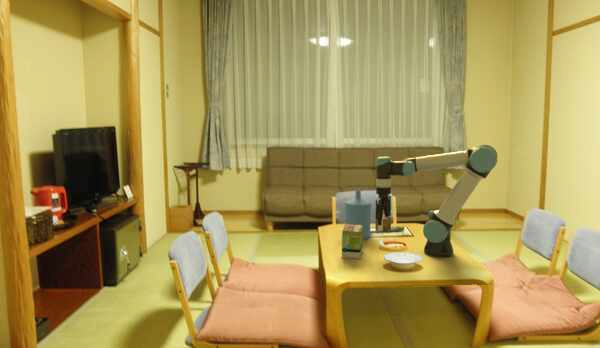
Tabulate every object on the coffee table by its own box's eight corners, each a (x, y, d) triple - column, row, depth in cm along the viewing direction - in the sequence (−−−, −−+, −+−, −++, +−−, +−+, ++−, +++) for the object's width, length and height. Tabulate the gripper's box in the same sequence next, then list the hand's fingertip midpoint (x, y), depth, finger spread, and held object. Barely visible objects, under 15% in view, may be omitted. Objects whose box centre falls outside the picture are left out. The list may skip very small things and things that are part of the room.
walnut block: (391, 229, 259) (391, 216, 257) (385, 232, 254) (386, 219, 253) (380, 228, 262) (380, 215, 261) (375, 230, 257) (375, 217, 256)
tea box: (360, 259, 252) (361, 231, 250) (341, 258, 254) (341, 230, 252) (362, 250, 266) (363, 224, 264) (344, 249, 268) (344, 223, 266)
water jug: (368, 240, 286) (369, 193, 282) (342, 238, 290) (342, 192, 286) (372, 233, 301) (372, 189, 297) (346, 232, 305) (347, 187, 301)
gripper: (384, 183, 264) (384, 224, 268) (368, 188, 249) (368, 232, 252) (397, 184, 260) (397, 226, 263) (381, 189, 245) (381, 234, 248)
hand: (383, 229), depth 258 cm, fingers closed on walnut block, 6 cm apart
